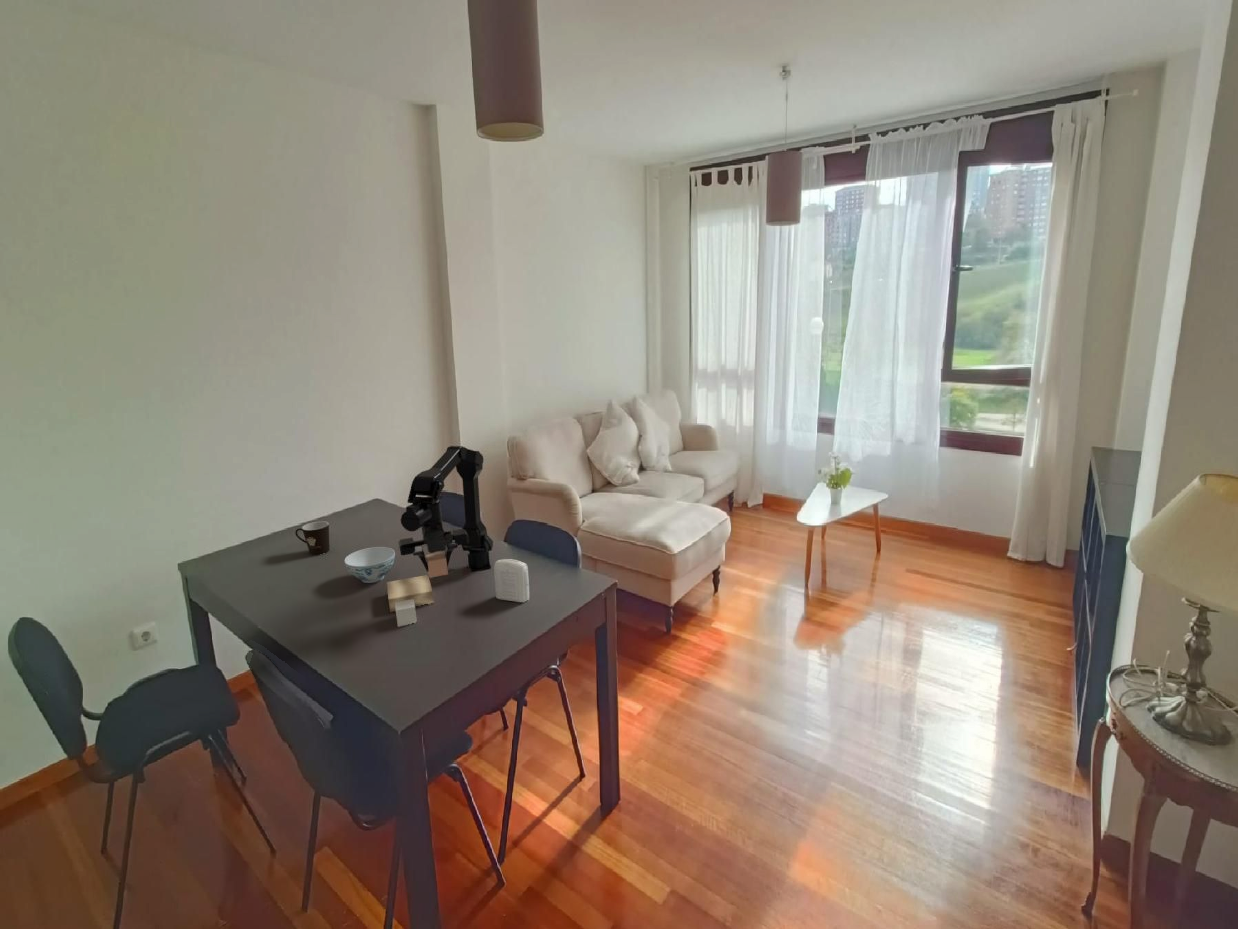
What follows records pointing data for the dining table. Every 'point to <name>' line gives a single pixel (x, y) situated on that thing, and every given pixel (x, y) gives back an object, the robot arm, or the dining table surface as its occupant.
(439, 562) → the terracotta cube
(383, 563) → the chinaware
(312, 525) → the coffee mug
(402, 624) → the grey cube
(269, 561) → the dining table surface
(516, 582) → the white rounded block
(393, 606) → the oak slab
